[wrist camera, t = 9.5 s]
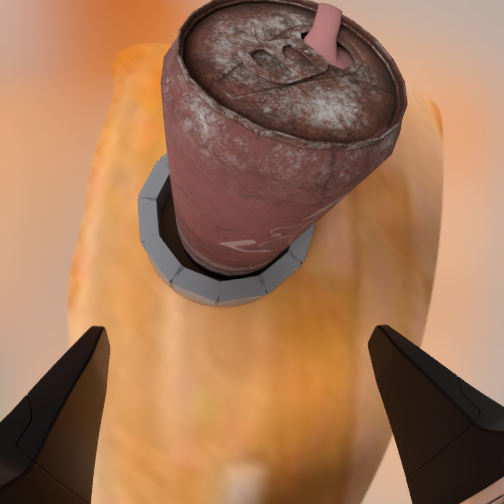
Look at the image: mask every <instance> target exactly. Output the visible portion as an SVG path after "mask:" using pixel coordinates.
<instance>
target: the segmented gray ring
mask: <svg viewBox="0 0 504 504" xmlns="http://www.w3.org/2000/svg"><path fill="white" fill-rule="evenodd" d="M138 212H139V228H140V241H141V243H142V246H143V247H144V249H145V251H146V252H147V255H148V257H149V259H150V262H151V264H152V265H153V267H154V269H155V270H156V272H157V273H158V275H159V276H160V277H161V278H162V279H163V281H164V282H165V283H166V284H167V285H168V286H169V287H170V288H172V289H173V290H174V291H175V292H177V293H178V294H180V295H181V296H183V297H184V298H187V299H189V300H191V301H193V302H196V303H199V304H202V305H206V306H212V307H235V306H239V305H244V304H247V303H250V302H252V301H255V300H257V299H259V298H261V297H263V296H265V295H267V294H268V293H270V292H271V291H273V290H274V289H275V288H277V287H278V286H279V285H280V284H281V283H282V282H283V281H284V280H285V279H286V278H288V277H289V276H290V275H291V274H292V273H293V272H295V271H296V270H297V269H298V268H299V267H300V266H301V265H302V263H304V260H305V257H306V254H307V251H308V248H309V244H310V241H311V238H312V235H313V231H314V228H315V225H316V223H314V224H313V225H312V226H311V227H310V228H309V229H307V230H306V231H305V232H304V233H303V234H302V235H301V236H300V237H298V238H297V239H296V240H295V241H294V242H293V243H291V244H290V245H289V246H288V247H287V248H286V249H285V250H283V251H282V252H281V253H280V254H279V255H278V256H277V257H275V258H274V259H273V260H272V261H271V262H270V263H268V264H267V265H266V266H265V267H264V268H263V269H261V270H260V271H259V272H258V273H255V274H253V275H250V276H248V277H245V278H242V279H227V280H226V279H222V278H218V277H214V276H210V275H208V274H207V273H205V272H204V271H202V270H200V269H199V268H197V267H196V266H195V265H194V264H193V263H192V262H191V260H190V259H189V258H188V257H187V255H186V254H185V253H184V250H183V247H182V245H181V242H180V239H179V235H178V229H177V222H176V216H175V209H174V202H173V194H172V187H171V179H170V171H169V163H168V155H167V154H165V155H164V156H162V157H161V158H160V161H159V160H158V161H157V163H156V164H155V166H154V168H153V170H152V172H151V173H150V175H149V177H148V179H147V181H146V182H145V184H144V186H143V188H142V190H141V192H140V194H139V199H138Z"/></svg>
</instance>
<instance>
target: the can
mask: <svg viewBox="0 0 504 504" xmlns="http://www.w3.org/2000/svg"><path fill="white" fill-rule="evenodd" d="M161 92H162V104H163V116H164V126H165V136H166V146H167V155H168V163H169V171H170V179H171V187H172V194H173V202H174V209H175V216H176V222H177V229H178V235H179V239H180V242H181V245H182V247H183V250H184V253H185V254H186V255H187V257H188V258H189V259H190V260H191V262H192V263H193V264H194V265H195V266H196V267H197V268H199V269H200V270H202V271H204V272H205V273H207V274H208V275H210V276H214V277H218V278H222V279H226V280H227V279H242V278H245V277H248V276H250V275H253V274H255V273H258V272H259V271H260V270H261V269H263V268H264V267H265V266H266V265H267V264H268V263H270V262H271V261H272V260H273V259H274V258H275V257H277V256H278V255H279V254H280V253H281V252H282V251H283V250H285V249H286V248H287V247H288V246H289V245H290V244H291V243H293V242H294V241H295V240H296V239H297V238H298V237H300V236H301V235H302V234H303V233H304V232H305V231H306V230H307V229H309V228H310V227H311V226H312V225H313V224H314V223H315V222H317V221H318V220H319V219H320V218H321V217H322V216H323V215H324V214H326V213H327V212H328V211H329V210H330V209H331V208H332V207H334V206H335V205H336V204H337V203H338V202H339V201H340V200H341V199H343V198H344V197H345V196H346V195H347V194H348V193H349V192H350V191H351V190H353V189H354V188H355V187H356V186H357V185H358V184H359V183H360V182H362V181H363V180H364V179H365V178H366V177H367V176H368V175H369V174H370V173H372V172H373V171H374V170H375V169H376V168H377V167H378V166H379V165H380V164H381V163H383V162H384V161H385V160H386V159H387V158H388V157H389V156H390V155H391V154H392V152H393V149H394V147H395V144H396V141H397V139H398V136H399V133H400V130H401V123H402V118H403V116H404V113H405V110H406V107H407V95H406V88H405V81H404V79H403V77H402V75H401V73H400V71H399V69H398V67H397V65H396V63H395V61H394V60H393V58H392V57H391V56H390V54H389V53H388V52H387V51H386V50H385V49H384V47H383V46H382V45H381V44H380V43H379V42H378V40H377V39H376V38H375V37H373V36H372V35H371V34H370V33H368V32H367V31H366V30H365V29H363V28H362V27H361V26H360V25H358V24H357V23H356V22H354V21H353V20H351V19H349V18H348V17H346V16H344V15H342V11H341V10H340V9H338V8H336V7H334V6H332V5H329V4H325V3H319V4H318V3H315V2H313V1H309V0H212V1H211V2H209V3H207V4H205V5H204V6H202V7H200V8H199V9H197V10H195V11H194V12H192V13H191V15H190V16H189V17H188V19H187V20H186V21H185V23H184V24H183V25H182V27H181V28H180V29H179V34H178V37H177V39H176V40H175V41H174V43H173V44H172V46H171V47H170V49H169V50H168V52H167V53H166V55H165V56H164V62H163V70H162V78H161Z"/></svg>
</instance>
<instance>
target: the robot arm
mask: <svg viewBox="0 0 504 504" xmlns="http://www.w3.org/2000/svg"><path fill="white" fill-rule="evenodd" d="M368 349H369V353H370V357H371V362H372V366H373V370H374V374H375V379H376V382H377V386H378V389H379V392H380V395H381V398H382V401H383V404H384V407H385V410H386V413H387V416H388V419H389V422H390V425H391V429H392V432H393V435H394V438H395V442H396V445H397V448H398V451H399V455H400V458H401V462H402V466H403V469H404V472H405V476H406V481H407V484H408V488H409V491H410V496H411V500H412V504H504V407H503V406H502V405H500V404H498V403H497V402H495V401H494V400H492V399H491V398H489V397H487V396H486V395H484V394H482V393H481V392H480V391H478V390H476V389H475V388H473V387H472V386H470V385H469V384H468V383H466V382H465V381H464V380H462V379H461V378H460V377H457V375H456V374H454V373H453V372H452V371H450V370H449V369H448V368H446V367H445V366H443V365H442V364H441V363H439V362H438V361H437V360H435V359H434V358H433V357H431V356H430V355H428V354H427V353H426V352H424V351H423V350H422V349H420V348H419V347H418V346H416V345H415V344H413V343H412V342H411V341H409V340H408V339H407V338H405V337H404V336H402V335H401V334H400V333H398V332H397V331H395V330H394V329H393V328H391V327H390V326H388V325H378V326H376V327H375V329H374V331H373V333H372V335H371V337H370V339H369V341H368ZM109 357H110V344H109V340H108V336H107V332H106V329H105V327H103V326H92V327H90V328H89V329H88V330H87V331H86V332H85V333H84V334H83V335H82V336H81V337H80V338H79V340H78V341H77V342H76V343H75V344H74V345H73V346H72V347H71V348H70V349H69V350H68V351H67V352H66V353H65V354H64V355H63V356H62V357H61V358H60V359H59V360H58V361H57V362H56V363H55V364H54V365H53V367H52V368H51V369H50V370H49V371H48V372H47V373H46V374H45V375H44V376H43V377H42V378H41V379H40V380H39V382H38V383H37V384H36V385H35V386H34V387H33V388H32V389H31V390H30V391H29V393H28V395H26V396H25V397H24V398H23V399H22V400H21V401H20V402H19V404H18V405H17V406H16V407H15V408H14V409H13V410H12V411H11V412H10V413H9V414H8V415H7V416H6V417H5V418H4V419H3V420H2V421H1V422H0V504H91V495H92V485H93V475H94V467H95V459H96V451H97V444H98V437H99V431H100V425H101V419H102V413H103V408H104V402H105V397H106V389H107V378H108V366H109Z"/></svg>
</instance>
